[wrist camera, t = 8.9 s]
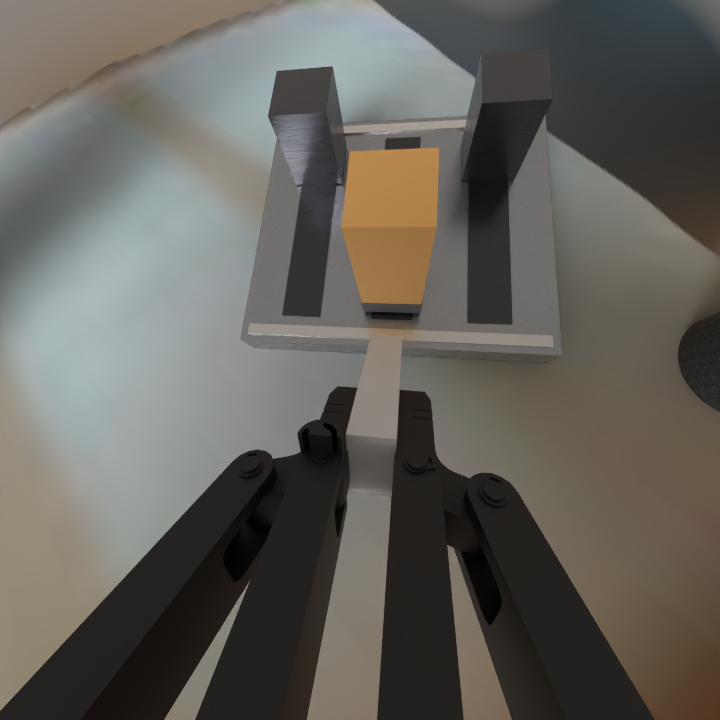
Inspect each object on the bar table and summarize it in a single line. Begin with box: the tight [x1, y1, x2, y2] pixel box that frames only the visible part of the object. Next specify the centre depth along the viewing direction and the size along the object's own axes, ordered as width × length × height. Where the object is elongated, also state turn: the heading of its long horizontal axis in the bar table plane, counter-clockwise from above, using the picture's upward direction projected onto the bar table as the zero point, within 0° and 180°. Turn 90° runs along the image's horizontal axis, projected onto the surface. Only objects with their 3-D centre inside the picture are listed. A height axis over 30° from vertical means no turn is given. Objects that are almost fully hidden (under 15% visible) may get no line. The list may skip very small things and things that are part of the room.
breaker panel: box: [240, 49, 562, 363], centre depth 19 cm, size 20×18×7 cm
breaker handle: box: [341, 148, 439, 313], centre depth 15 cm, size 4×4×8 cm
